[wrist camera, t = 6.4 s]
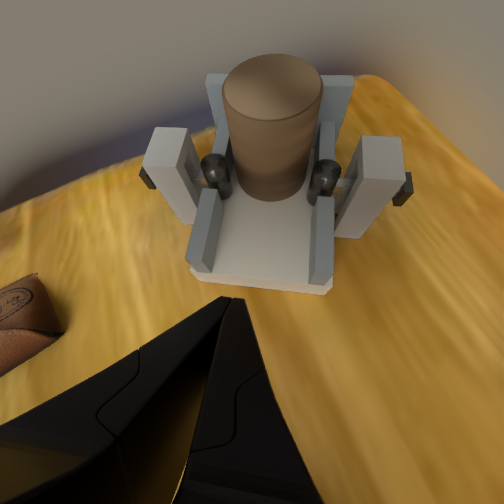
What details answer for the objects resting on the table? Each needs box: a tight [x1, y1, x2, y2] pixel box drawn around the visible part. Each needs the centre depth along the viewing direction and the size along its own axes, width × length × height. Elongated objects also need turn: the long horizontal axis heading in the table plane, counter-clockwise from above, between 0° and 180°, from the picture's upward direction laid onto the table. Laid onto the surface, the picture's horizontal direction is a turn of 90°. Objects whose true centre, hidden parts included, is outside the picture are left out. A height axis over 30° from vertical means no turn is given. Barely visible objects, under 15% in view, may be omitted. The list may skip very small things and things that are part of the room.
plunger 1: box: [139, 153, 233, 200], centre depth 20 cm, size 2×7×3 cm, turn 83°
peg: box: [222, 54, 323, 202], centre depth 19 cm, size 6×6×8 cm
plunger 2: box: [306, 159, 414, 207], centre depth 19 cm, size 2×7×3 cm, turn 83°
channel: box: [142, 74, 406, 295], centre depth 20 cm, size 15×17×9 cm
